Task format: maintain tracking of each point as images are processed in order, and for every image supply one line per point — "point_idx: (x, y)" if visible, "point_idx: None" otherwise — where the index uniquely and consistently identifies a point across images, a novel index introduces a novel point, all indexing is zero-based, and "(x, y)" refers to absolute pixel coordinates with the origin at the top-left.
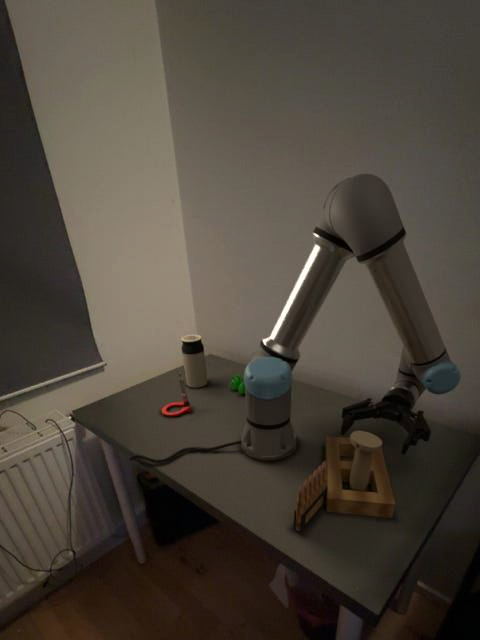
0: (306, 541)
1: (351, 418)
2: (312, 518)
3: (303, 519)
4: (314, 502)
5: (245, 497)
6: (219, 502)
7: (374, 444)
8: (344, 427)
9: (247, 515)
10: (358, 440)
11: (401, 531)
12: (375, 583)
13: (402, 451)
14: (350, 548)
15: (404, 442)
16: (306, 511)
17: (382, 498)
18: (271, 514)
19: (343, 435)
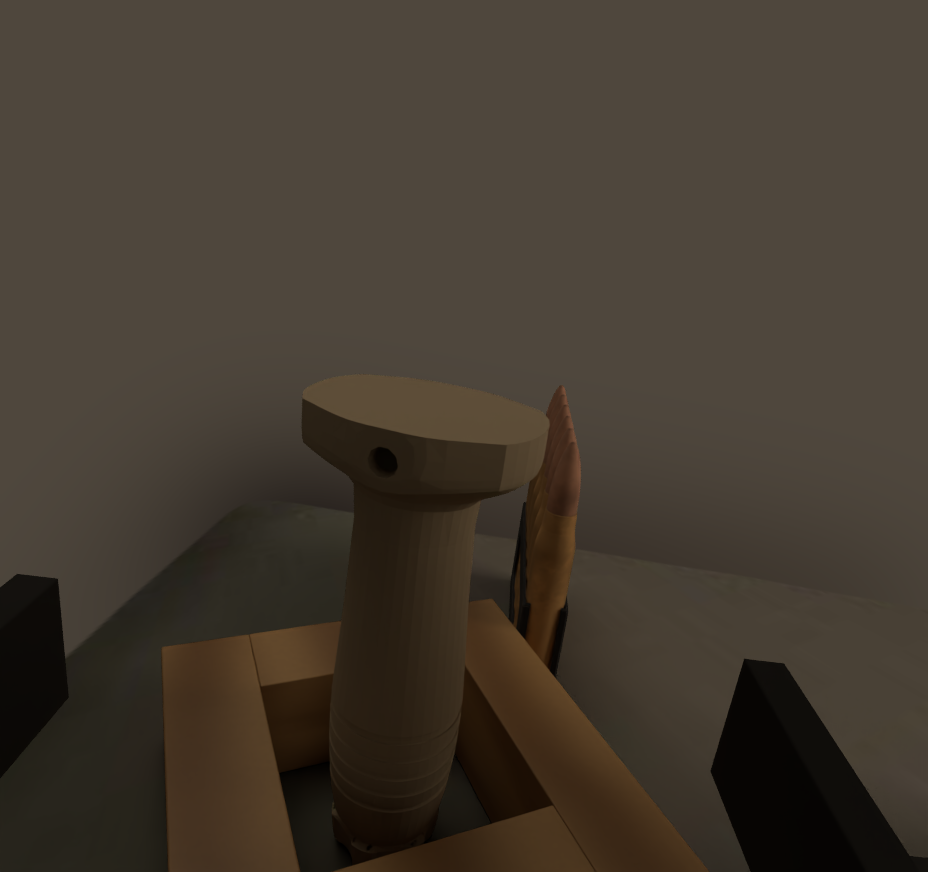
0: (480, 569)
1: (855, 859)
2: (510, 615)
3: (519, 529)
4: (522, 543)
5: (794, 637)
6: (826, 599)
7: (355, 386)
8: (740, 677)
9: (705, 588)
10: (468, 396)
11: (128, 686)
12: (252, 530)
13: (58, 673)
14: (340, 582)
15: (43, 586)
16: (523, 514)
17: (233, 659)
18: (648, 609)
19: (713, 770)
